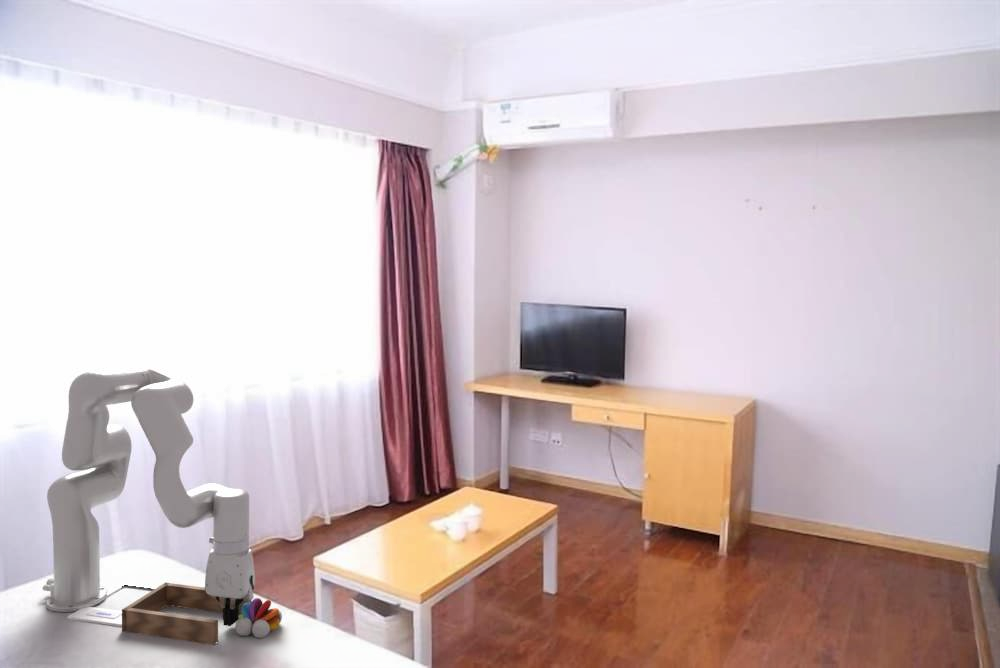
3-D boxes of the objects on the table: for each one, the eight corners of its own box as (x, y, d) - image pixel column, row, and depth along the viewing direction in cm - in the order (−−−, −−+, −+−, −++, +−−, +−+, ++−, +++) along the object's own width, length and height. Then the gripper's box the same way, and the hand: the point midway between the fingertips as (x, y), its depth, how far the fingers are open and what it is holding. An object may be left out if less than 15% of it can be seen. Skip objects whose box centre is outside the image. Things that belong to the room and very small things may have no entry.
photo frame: (67, 615, 156) (124, 582, 174) (67, 620, 157) (124, 587, 174) (122, 623, 154) (175, 589, 171) (122, 628, 154) (175, 593, 171)
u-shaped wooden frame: (121, 631, 152) (121, 609, 151) (165, 602, 166) (165, 582, 165) (214, 645, 147) (214, 622, 147) (251, 614, 161) (251, 593, 161)
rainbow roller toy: (269, 642, 149) (269, 610, 148) (228, 637, 150) (228, 605, 150) (287, 623, 157) (287, 593, 157) (248, 619, 159) (248, 589, 158)
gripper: (191, 547, 151) (190, 626, 152) (251, 554, 148) (251, 635, 149) (211, 535, 158) (211, 611, 159) (270, 542, 155) (269, 619, 156)
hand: (230, 622), depth 154 cm, fingers closed
